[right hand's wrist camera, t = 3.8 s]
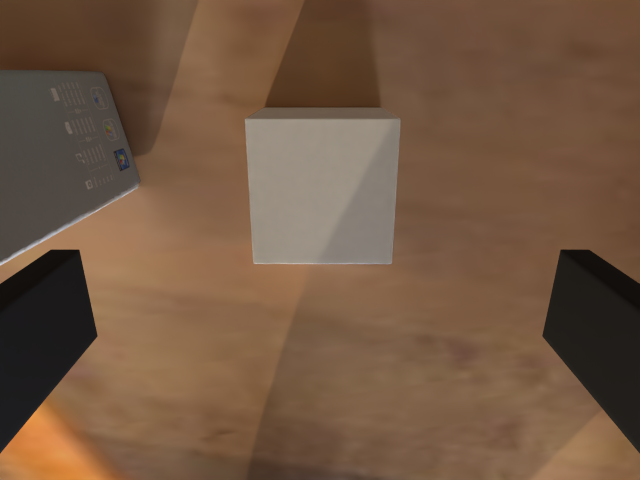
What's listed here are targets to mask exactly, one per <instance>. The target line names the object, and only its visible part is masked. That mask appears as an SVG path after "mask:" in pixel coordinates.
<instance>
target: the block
mask: <svg viewBox="0 0 640 480" xmlns="http://www.w3.org/2000/svg"><path fill="white" fill-rule="evenodd" d="M400 123H401V119H400V118H398V117H397V116H395V115H393V114H392V113H390V112H388V111H386V110H385V109H383V108H274V107H264V108H262V109H261V110H259V111H257V112H255V113H254V114H252V115H250V116H249V117H247V118H245V128H246V145H247V163H248V180H249V197H250V215H251V232H252V249H253V263H254V264H392V252H393V236H394V220H395V203H396V187H397V171H398V155H399V139H400Z"/></svg>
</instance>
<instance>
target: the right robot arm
mask: <svg viewBox="0 0 640 480" xmlns="http://www.w3.org/2000/svg"><path fill="white" fill-rule="evenodd" d="M96 337H97V331H96V327H95V322H94V317H93V312H92V308H91V303H90V298H89V294H88V289H87V284H86V279H85V275H84V270H83V265H82V260H81V256H80V251H79V250H50V251H48V252H47V253H45V254H44V255H43V256H41V257H40V258H38V259H37V260H35V261H34V262H32V263H31V264H29V265H28V266H26V267H25V268H23V269H22V270H20V271H19V272H17V273H16V274H14V275H13V276H11V277H10V278H8V279H7V280H6V281H4V282H3V283H1V284H0V453H1V452H2V451H3V449H4V448H5V447H6V446H7V445H8V443H9V442H10V441H11V440H12V439H13V437H14V436H15V435H16V434H17V433H18V431H19V430H20V429H21V428H22V427H23V425H24V424H25V423H26V422H27V420H28V419H29V418H30V417H31V416H32V414H33V413H34V412H35V411H36V410H37V408H38V407H39V406H40V405H41V404H42V402H43V401H44V400H45V399H46V398H47V396H48V395H49V394H50V393H51V392H52V390H53V389H54V388H55V387H56V386H57V384H58V383H59V382H60V381H61V380H62V378H63V377H64V376H65V375H66V373H67V372H68V371H69V370H70V369H71V367H72V366H73V365H74V364H75V363H76V361H77V360H78V359H79V358H80V357H81V355H82V354H83V353H84V352H85V351H86V349H87V348H88V347H89V346H90V345H91V343H92V342H93V341H94V340H95V339H96ZM543 337H544V339H545V340H546V341H547V342H548V343H549V345H550V346H551V347H552V348H553V349H554V351H555V352H556V353H557V354H558V355H559V357H560V358H561V359H562V360H563V361H564V363H565V364H566V365H567V366H568V367H569V369H570V370H571V371H572V372H573V374H574V375H575V376H576V377H577V378H578V380H579V381H580V382H581V383H582V384H583V386H584V387H585V388H586V389H587V390H588V392H589V393H590V394H591V395H592V396H593V398H594V399H595V400H596V401H597V402H598V404H599V405H600V406H601V407H602V408H603V410H604V411H605V412H606V413H607V414H608V416H609V417H610V418H611V419H612V420H613V422H614V423H615V424H616V425H617V427H618V428H619V429H620V430H621V431H622V433H623V434H624V435H625V436H626V437H627V439H628V440H629V441H630V442H631V443H632V445H633V446H634V447H635V448H636V449H637V451H638V452H639V453H640V284H639V283H637V282H636V281H634V280H633V279H632V278H630V277H629V276H627V275H626V274H624V273H623V272H621V271H620V270H618V269H617V268H615V267H614V266H612V265H611V264H609V263H608V262H606V261H605V260H603V259H602V258H600V257H599V256H597V255H596V254H595V253H593V252H592V251H590V250H561V251H560V256H559V260H558V265H557V270H556V275H555V279H554V284H553V289H552V294H551V298H550V303H549V308H548V312H547V317H546V322H545V327H544V331H543Z"/></svg>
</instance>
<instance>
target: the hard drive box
mask: <svg viewBox="0 0 640 480" xmlns="http://www.w3.org/2000/svg"><path fill="white" fill-rule="evenodd" d="M139 182H140V178H139V175H138V171H137V168H136V165H135V162H134V159H133V156H132V153H131V150H130V147H129V145H128V142H127V138H126V136H125V133H124V130H123V127H122V124H121V121H120V118H119V115H118V112H117V109H116V106H115V103H114V100H113V97H112V94H111V91H110V89H109V86H108V83H107V80H106V78H105V75H104V73H102V72H92V71H50V70H0V265H2V264H4V263H5V262H7V261H9V260H11V259H12V258H14V257H16V256H18V255H19V254H21V253H23V252H25V251H27V250H28V249H30V248H32V247H34V246H35V245H37V244H39V243H41V242H43V241H44V240H46V239H48V238H50V237H51V236H53V235H55V234H57V233H59V232H60V231H62V230H64V229H66V228H67V227H69V226H71V225H73V224H75V223H76V222H78V221H80V220H82V219H84V218H85V217H87V216H89V215H91V214H92V213H94V212H96V211H98V210H99V209H101V208H103V207H105V206H106V205H108V204H110V203H112V202H114V201H116V200H117V199H119V198H121V197H123V196H124V195H126V194H128V193H129V192H131V191H133V190H134V189H136V188H137V187H139V184H138V183H139Z"/></svg>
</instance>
